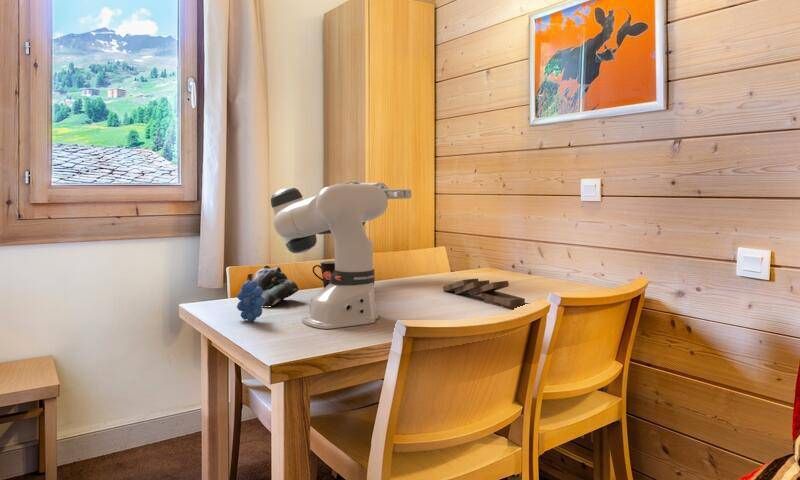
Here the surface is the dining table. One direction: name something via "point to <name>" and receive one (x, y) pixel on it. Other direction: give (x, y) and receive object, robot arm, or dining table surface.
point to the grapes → (250, 301)
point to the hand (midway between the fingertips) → (399, 194)
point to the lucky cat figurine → (273, 284)
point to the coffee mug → (325, 270)
